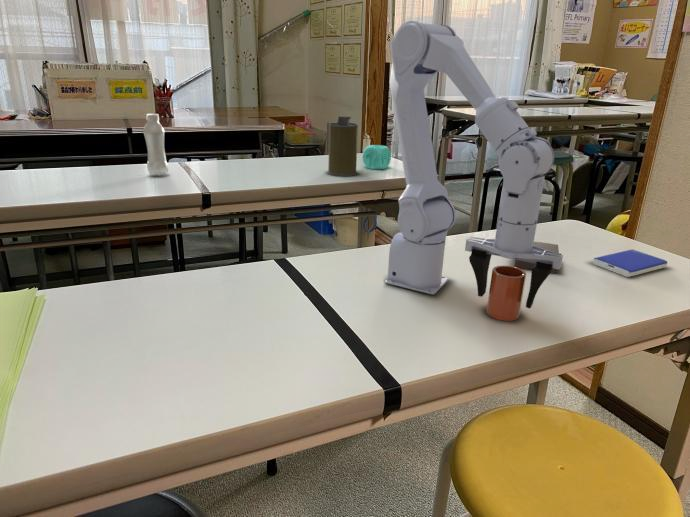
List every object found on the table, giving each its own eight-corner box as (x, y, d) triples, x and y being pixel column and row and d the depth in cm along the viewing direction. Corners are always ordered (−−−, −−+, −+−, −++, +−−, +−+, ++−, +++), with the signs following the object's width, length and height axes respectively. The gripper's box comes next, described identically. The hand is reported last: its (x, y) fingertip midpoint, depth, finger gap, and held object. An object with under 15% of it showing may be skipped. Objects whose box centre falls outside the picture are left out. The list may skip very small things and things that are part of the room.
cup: (482, 315, 83) (489, 273, 81) (491, 304, 88) (497, 263, 85) (514, 323, 81) (522, 280, 78) (521, 311, 85) (529, 269, 83)
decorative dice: (361, 167, 197) (362, 146, 195) (373, 164, 203) (374, 144, 201) (379, 170, 193) (380, 148, 190) (390, 167, 199) (391, 146, 196)
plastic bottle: (165, 177, 170) (159, 115, 163) (145, 177, 170) (138, 114, 163) (171, 173, 176) (166, 113, 169) (152, 173, 176) (145, 112, 169)
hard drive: (630, 248, 112) (593, 256, 107) (668, 260, 106) (630, 270, 100) (629, 255, 113) (592, 263, 107) (666, 267, 106) (628, 277, 101)
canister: (359, 171, 189) (361, 115, 182) (352, 177, 180) (354, 118, 173) (331, 169, 192) (332, 114, 185) (323, 174, 182) (323, 116, 175)
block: (513, 267, 104) (516, 251, 103) (515, 254, 111) (518, 239, 110) (556, 273, 102) (559, 256, 100) (555, 260, 109) (558, 244, 107)
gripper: (463, 217, 79) (454, 298, 83) (563, 234, 72) (547, 321, 77) (476, 207, 84) (467, 283, 89) (570, 222, 78) (555, 303, 83)
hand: (504, 299), depth 83 cm, fingers open, 7 cm apart
